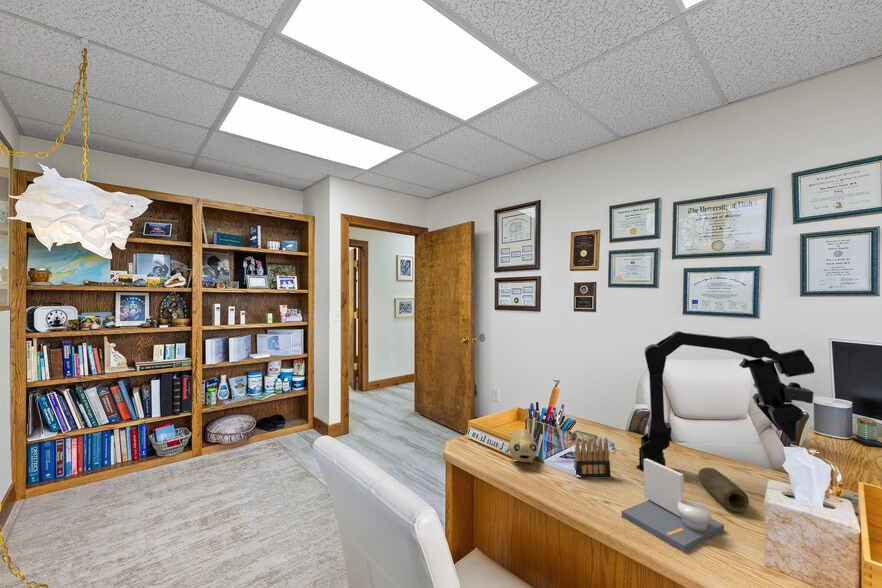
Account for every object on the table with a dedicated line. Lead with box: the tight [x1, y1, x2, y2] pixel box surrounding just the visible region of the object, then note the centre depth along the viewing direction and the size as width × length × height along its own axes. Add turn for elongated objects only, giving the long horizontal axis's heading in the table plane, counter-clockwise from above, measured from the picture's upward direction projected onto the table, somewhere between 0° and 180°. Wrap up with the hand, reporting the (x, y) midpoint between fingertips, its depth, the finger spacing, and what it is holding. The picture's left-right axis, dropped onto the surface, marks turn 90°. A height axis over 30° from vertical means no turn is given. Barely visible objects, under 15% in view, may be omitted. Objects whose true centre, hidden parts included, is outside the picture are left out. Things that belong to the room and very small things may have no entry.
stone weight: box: [697, 467, 750, 513], centre depth 101 cm, size 15×7×7 cm, turn 173°
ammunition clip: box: [573, 437, 612, 478], centre depth 115 cm, size 11×2×12 cm, turn 90°
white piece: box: [643, 458, 712, 523], centre depth 92 cm, size 16×6×10 cm, turn 22°
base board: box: [621, 499, 725, 553], centre depth 91 cm, size 15×16×4 cm
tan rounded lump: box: [507, 428, 539, 463], centre depth 126 cm, size 10×12×11 cm
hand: (787, 435), depth 104 cm, fingers open, 9 cm apart
